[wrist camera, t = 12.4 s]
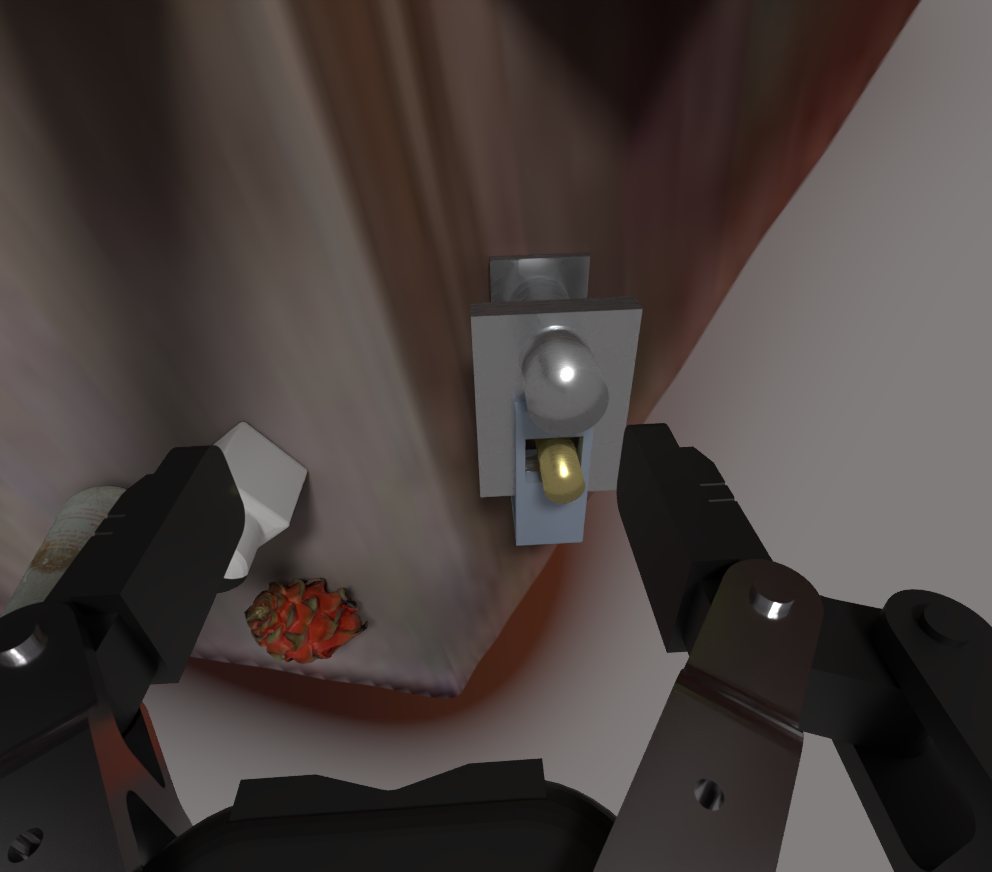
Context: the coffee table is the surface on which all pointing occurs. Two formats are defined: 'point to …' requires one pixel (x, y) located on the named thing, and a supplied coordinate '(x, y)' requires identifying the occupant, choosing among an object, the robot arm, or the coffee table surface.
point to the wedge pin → (560, 469)
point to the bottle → (63, 543)
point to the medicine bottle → (259, 493)
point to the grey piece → (551, 364)
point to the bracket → (530, 505)
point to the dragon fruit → (303, 620)
